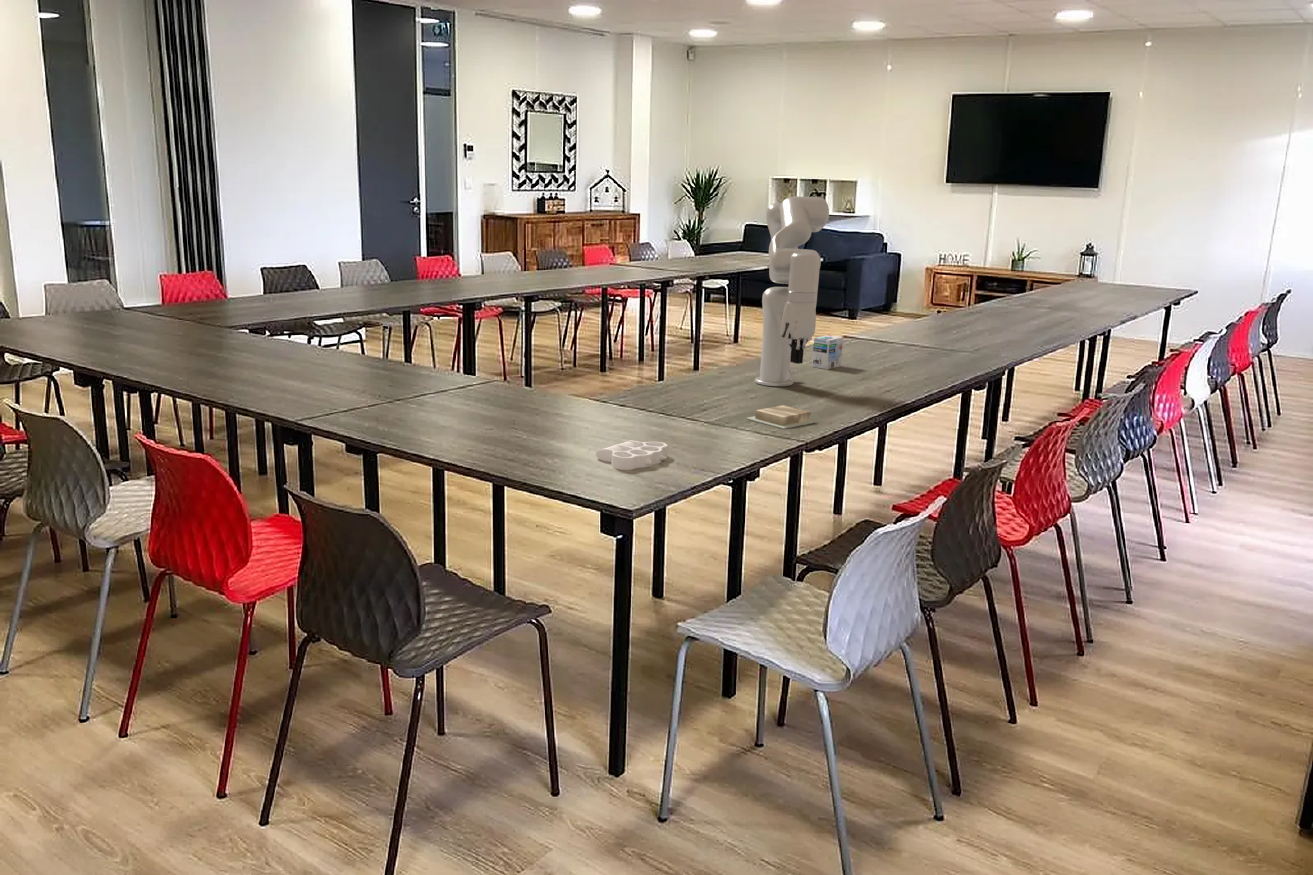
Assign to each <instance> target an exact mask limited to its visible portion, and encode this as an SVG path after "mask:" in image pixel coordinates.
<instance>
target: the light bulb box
mask: <svg viewBox="0 0 1313 875" xmlns="http://www.w3.org/2000/svg"><path fill="white" fill-rule="evenodd" d="M843 344H844V337H843V336H836V335H831V334H830V335H829V334H826V335H823V336H817V337H814V338H813V345H812V347H813V348H812V360H811V361H812V362H811V368H817V369H821V370H822V369H823V370H831V369H834V368H838V367H841V366H842V355H843Z"/></svg>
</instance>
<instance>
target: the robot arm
mask: <svg viewBox="0 0 1313 875" xmlns="http://www.w3.org/2000/svg"><path fill="white" fill-rule="evenodd" d="M765 213H766V215H765V218H766V224H767V228H768V231H769V235H770V243H769V246H768V259H769V260H768V261H769V268H768V269H769V270H768V272H769V273H768V274H769V279H770V281H771V282H773V283H775V284H782V285H784V284H785V285H788V286H773V287H772V286H771V287H769V288H766V290H765V291H763V293H762V296H761V297H762V300H761V303H762V305H761V306H762V319H763V320H762V340H761V342H762V343H761V353H760V354H761V356H760V367H759V368H760V371H759V376H755V378H754V382H755V383H756V384H758V385H760V386H761V385H762V386H768V387H788V386H789V387H790V386H792V385H793V384H794V380H793V379H792V376H797V375H798V374H799V373H798V370H797V369H791V368H790V367H791V366H790V365H791V363H793V364H797V365H799V364H803V360H804V350H805V349H806V344H807V343H809V342H810V341H812V340H813V336H814V335H815V332H816V323H817V322H816V318H817V312H816V311H817V310H816V308H817V302H818V290H819V281H820V280H819V279H820V269H821V265H822V264H821V263H822V262H821V260H822V259H821V256H820V254H819V253H818V251H816V250H814V249H805V248H798V247H800V246H802V245H804V244H806V243H807V242H808V241H809V240H810V238H811V237H812V233H818V232H820V231H821V230H822V229H823V228H825V227H826V225H827V224H828V222H829V218H830V208H829V204H828V202H827V200H826V199H824V198H823V197H818V196H814V197H813V196H800V195H798V196H788V197H787V198H785V199H784V200H782V202H775V203H771V204H770V205H769V206H768V207H767V208H766V212H765Z"/></svg>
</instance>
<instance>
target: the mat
mask: <svg viewBox="0 0 1313 875" xmlns="http://www.w3.org/2000/svg"><path fill="white" fill-rule="evenodd" d="M745 419H746V420H748V421H751V422H755V423H759V424H763V425H766V426H771V427H774V428H777V429H781V430H785V429H790V428H795V427H800V426H801V427H802V426H806V425H810V424H814V423H815V422H814V421H812V420H808V421H803V422H798V423H793V424H788V425H783V426H781V425H778V424H774V423H770V422H766V421H763V420H759V419H755V416H749V417H745Z"/></svg>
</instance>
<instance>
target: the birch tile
mask: <svg viewBox="0 0 1313 875" xmlns="http://www.w3.org/2000/svg"><path fill="white" fill-rule="evenodd" d="M811 414H812V411H809V410H805V409H800V408H797V407H793V406H789V405H785V404H782V405H777V406H772V407H765V408H761V409H760V408H759V409H756V410H755V419H759V420H763V421H766V422H770V423H774V424H778V425H781V426H783V425H788V424H793V423H798V422H803V421H811V417H812V416H811Z"/></svg>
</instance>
